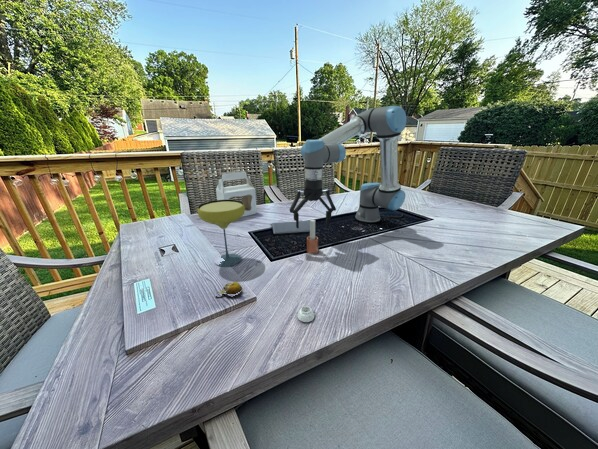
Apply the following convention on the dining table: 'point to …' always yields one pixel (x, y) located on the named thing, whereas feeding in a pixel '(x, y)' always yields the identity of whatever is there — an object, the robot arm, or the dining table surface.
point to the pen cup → (312, 245)
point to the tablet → (290, 228)
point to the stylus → (312, 229)
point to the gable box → (238, 191)
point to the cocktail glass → (222, 221)
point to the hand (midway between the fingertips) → (312, 226)
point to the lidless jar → (305, 314)
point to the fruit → (231, 289)
